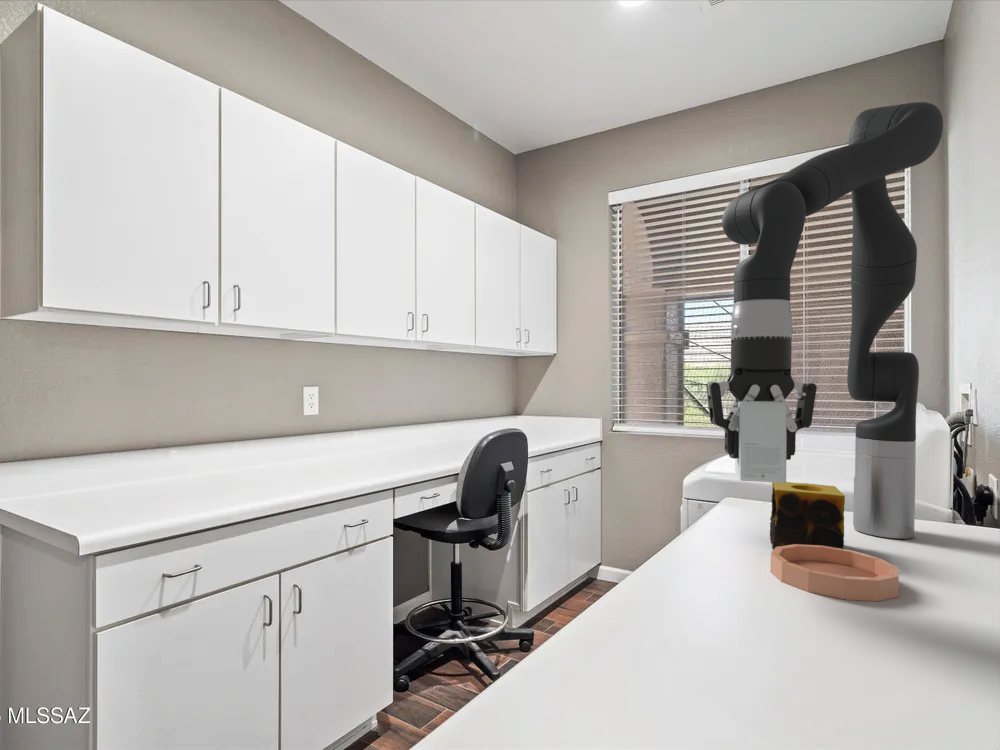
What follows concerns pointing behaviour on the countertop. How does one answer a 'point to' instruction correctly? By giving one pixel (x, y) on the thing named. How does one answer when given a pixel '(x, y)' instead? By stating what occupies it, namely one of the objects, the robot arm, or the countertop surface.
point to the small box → (762, 441)
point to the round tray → (835, 572)
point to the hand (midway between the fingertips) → (759, 457)
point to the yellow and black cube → (806, 515)
